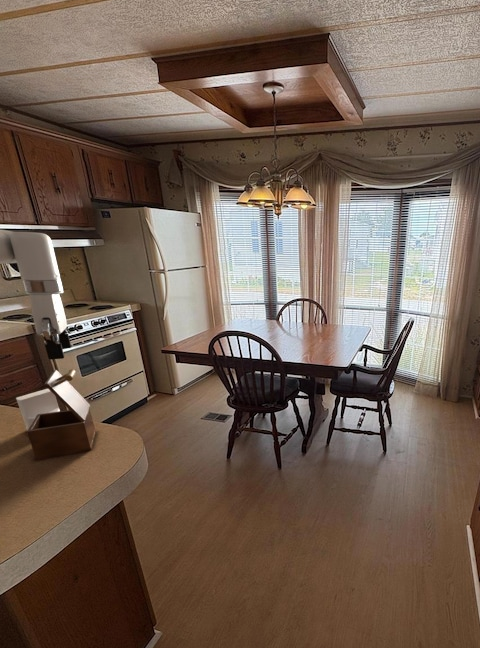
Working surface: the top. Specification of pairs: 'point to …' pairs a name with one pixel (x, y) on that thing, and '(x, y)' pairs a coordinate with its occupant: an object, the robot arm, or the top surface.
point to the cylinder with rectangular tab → (37, 405)
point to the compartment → (60, 434)
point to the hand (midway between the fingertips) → (60, 353)
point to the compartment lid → (68, 393)
